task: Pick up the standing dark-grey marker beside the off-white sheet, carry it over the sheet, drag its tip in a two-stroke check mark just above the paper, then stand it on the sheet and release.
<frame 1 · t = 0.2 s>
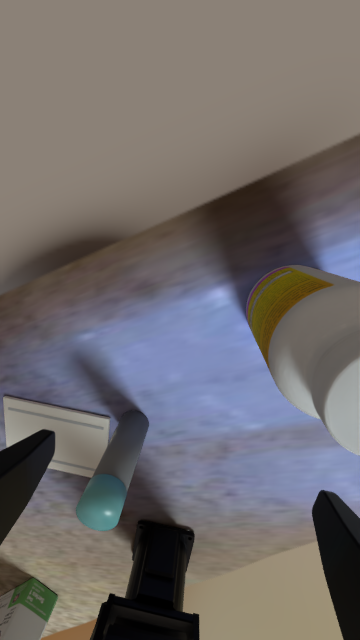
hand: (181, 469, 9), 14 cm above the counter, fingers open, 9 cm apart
supplement bottle: (287, 306, 21), on the counter
marker: (134, 422, 26), on the counter
paper: (56, 438, 27), on the counter
ink box: (29, 594, 37), on the counter
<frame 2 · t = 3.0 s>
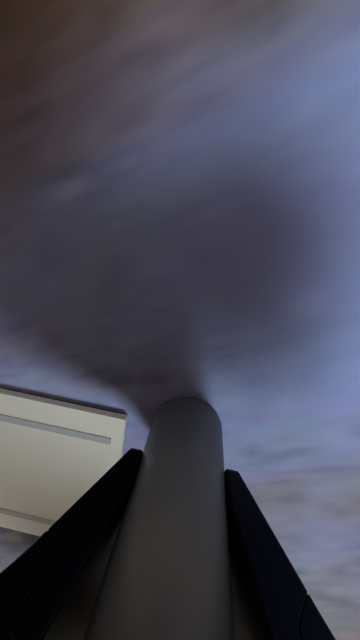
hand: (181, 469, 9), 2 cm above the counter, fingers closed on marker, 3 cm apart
marker: (186, 427, 11), on the counter, touching gripper
paper: (5, 461, 12), on the counter
when the fingers open (3 cm above the counter, at t = 9.2 s): marker stays where it is, resting on paper.
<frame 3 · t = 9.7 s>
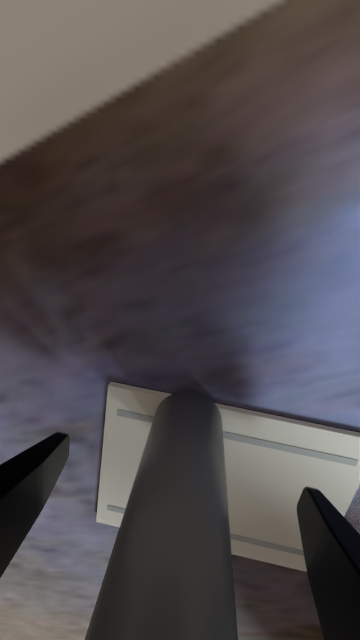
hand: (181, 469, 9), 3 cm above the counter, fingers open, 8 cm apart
marker: (188, 421, 11), resting on paper
paper: (219, 481, 12), on the counter
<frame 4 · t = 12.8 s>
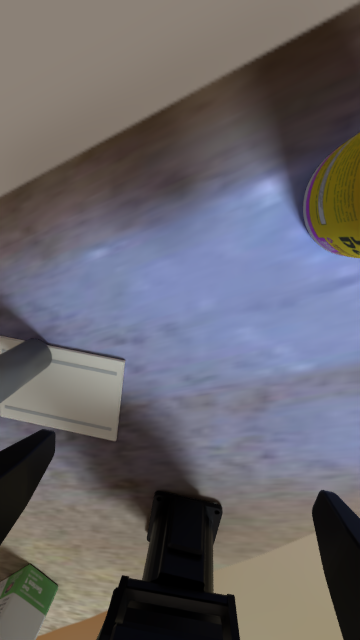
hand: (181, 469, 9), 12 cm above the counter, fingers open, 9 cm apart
supplement bottle: (353, 202, 17), on the counter
marker: (36, 354, 22), resting on paper
paper: (60, 389, 23), on the counter
ink box: (25, 584, 32), on the counter
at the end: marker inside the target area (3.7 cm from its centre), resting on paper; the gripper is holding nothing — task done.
